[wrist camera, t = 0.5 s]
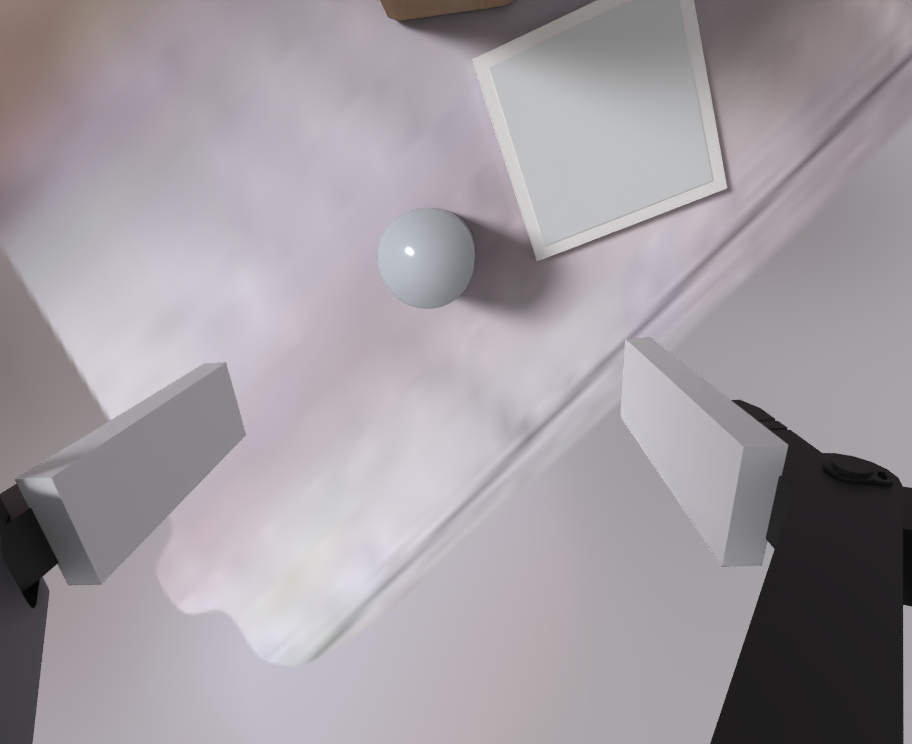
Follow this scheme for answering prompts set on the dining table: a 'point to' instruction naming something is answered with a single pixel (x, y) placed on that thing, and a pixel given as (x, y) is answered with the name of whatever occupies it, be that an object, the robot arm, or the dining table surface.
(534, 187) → the shallow square tray
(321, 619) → the dining table surface
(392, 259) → the pale grey egg
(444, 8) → the wooden block
